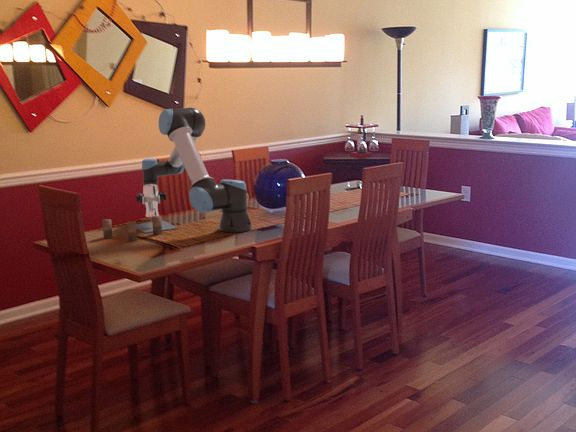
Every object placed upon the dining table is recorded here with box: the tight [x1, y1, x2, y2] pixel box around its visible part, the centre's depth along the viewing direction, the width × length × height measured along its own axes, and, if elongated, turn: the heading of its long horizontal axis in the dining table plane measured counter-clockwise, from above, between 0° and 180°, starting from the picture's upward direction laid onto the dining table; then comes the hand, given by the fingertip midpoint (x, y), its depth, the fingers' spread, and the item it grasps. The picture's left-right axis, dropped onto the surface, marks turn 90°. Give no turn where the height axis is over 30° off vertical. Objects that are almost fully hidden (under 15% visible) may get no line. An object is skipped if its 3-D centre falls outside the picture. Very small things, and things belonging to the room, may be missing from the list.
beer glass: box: [142, 184, 160, 218], centre depth 334 cm, size 7×7×15 cm
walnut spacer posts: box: [102, 215, 163, 242], centre depth 319 cm, size 16×25×8 cm, turn 119°
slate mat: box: [136, 220, 179, 234], centre depth 338 cm, size 20×16×1 cm
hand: (151, 200), depth 329 cm, fingers closed on beer glass, 7 cm apart
